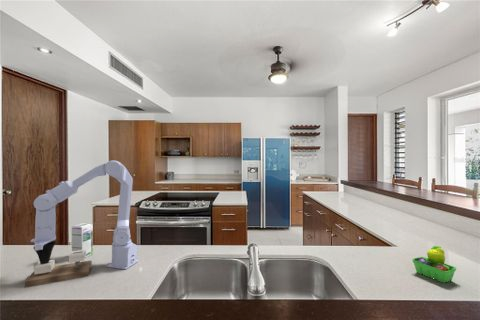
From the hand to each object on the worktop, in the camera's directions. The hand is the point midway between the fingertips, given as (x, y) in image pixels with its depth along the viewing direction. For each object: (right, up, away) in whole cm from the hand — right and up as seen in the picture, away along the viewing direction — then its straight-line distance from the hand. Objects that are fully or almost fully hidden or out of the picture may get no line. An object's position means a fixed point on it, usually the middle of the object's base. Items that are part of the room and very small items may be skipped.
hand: (44, 263), depth 82 cm
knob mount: (+4, -6, +2) cm, 7 cm away
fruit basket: (+148, -7, +3) cm, 148 cm away
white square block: (+9, -1, +4) cm, 10 cm away
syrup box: (0, -6, +19) cm, 20 cm away
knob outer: (0, -3, 0) cm, 3 cm away
